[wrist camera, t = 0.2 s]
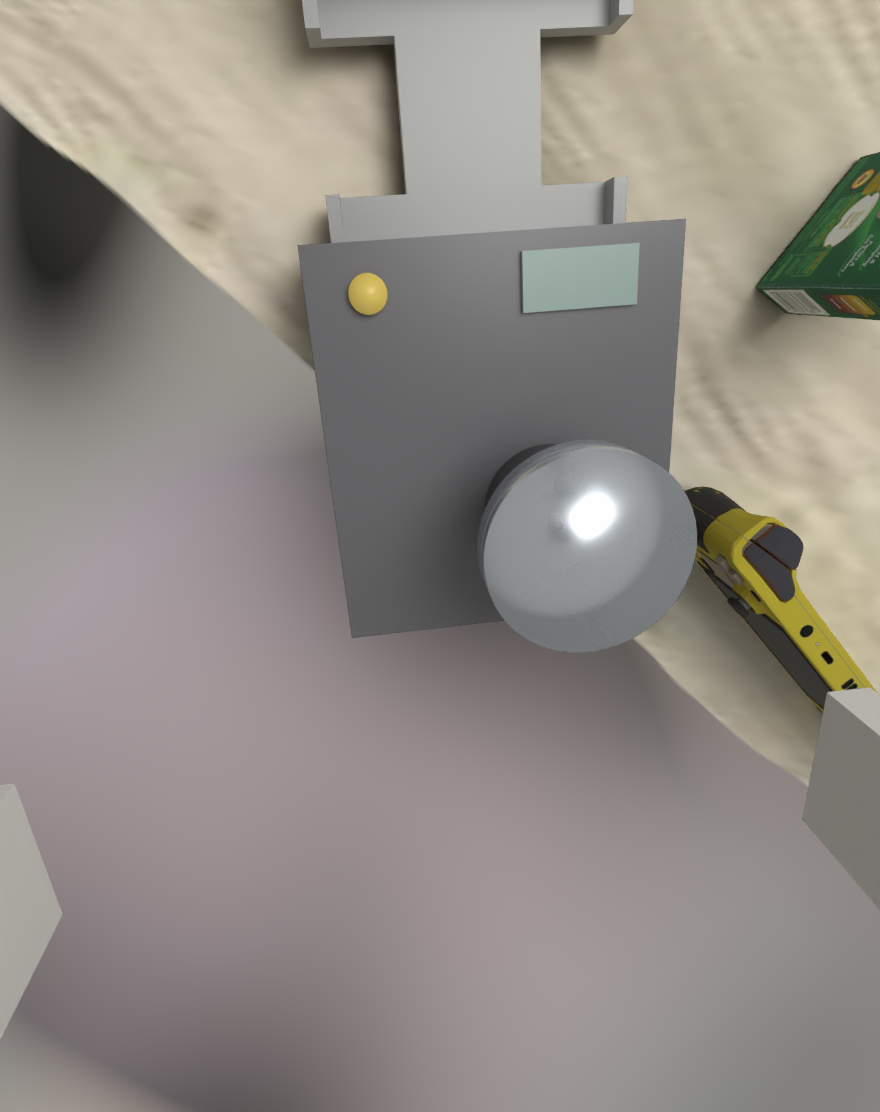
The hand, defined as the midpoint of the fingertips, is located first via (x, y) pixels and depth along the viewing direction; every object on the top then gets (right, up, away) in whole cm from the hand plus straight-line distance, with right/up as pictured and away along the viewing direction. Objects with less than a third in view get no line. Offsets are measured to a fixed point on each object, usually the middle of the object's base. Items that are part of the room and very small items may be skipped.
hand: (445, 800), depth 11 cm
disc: (+6, +5, +16) cm, 17 cm away
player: (+2, +12, +26) cm, 28 cm away
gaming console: (+22, 0, +33) cm, 40 cm away
